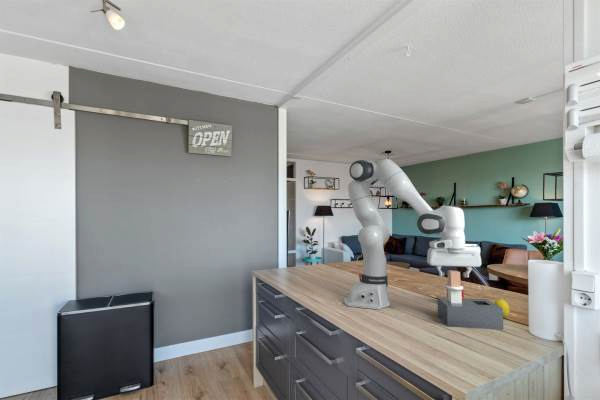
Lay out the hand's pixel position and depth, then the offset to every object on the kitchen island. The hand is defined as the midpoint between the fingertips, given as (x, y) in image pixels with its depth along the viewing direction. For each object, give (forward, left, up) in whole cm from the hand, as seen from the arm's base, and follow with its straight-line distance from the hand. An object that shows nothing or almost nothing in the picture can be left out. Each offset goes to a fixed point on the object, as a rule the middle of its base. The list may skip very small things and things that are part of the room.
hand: (453, 276), depth 116 cm
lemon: (+21, +7, -18) cm, 29 cm away
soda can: (+7, +19, -18) cm, 27 cm away
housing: (+5, 0, -18) cm, 19 cm away
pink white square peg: (0, 0, -10) cm, 10 cm away
